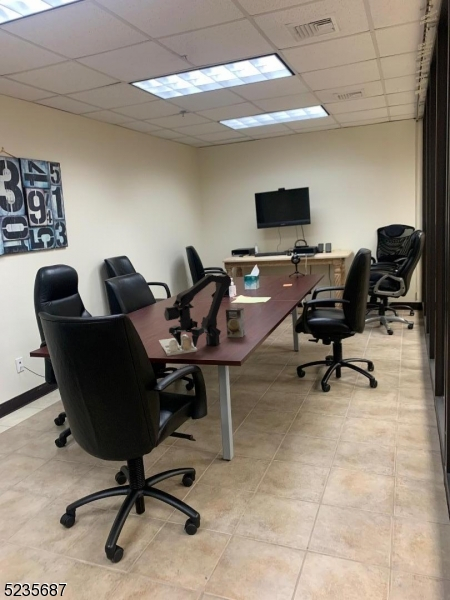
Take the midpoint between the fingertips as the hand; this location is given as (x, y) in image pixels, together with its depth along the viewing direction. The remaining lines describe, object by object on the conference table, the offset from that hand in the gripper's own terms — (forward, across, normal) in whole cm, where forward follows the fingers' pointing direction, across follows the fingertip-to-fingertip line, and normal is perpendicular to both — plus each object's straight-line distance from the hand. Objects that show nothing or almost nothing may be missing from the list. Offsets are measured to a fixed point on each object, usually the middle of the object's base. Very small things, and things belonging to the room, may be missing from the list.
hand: (187, 346), depth 235 cm
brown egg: (+2, 0, 0) cm, 2 cm away
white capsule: (+2, +5, +5) cm, 8 cm away
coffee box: (+3, -12, -33) cm, 35 cm away
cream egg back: (+2, +5, -5) cm, 8 cm away
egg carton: (+3, +11, -6) cm, 12 cm away
